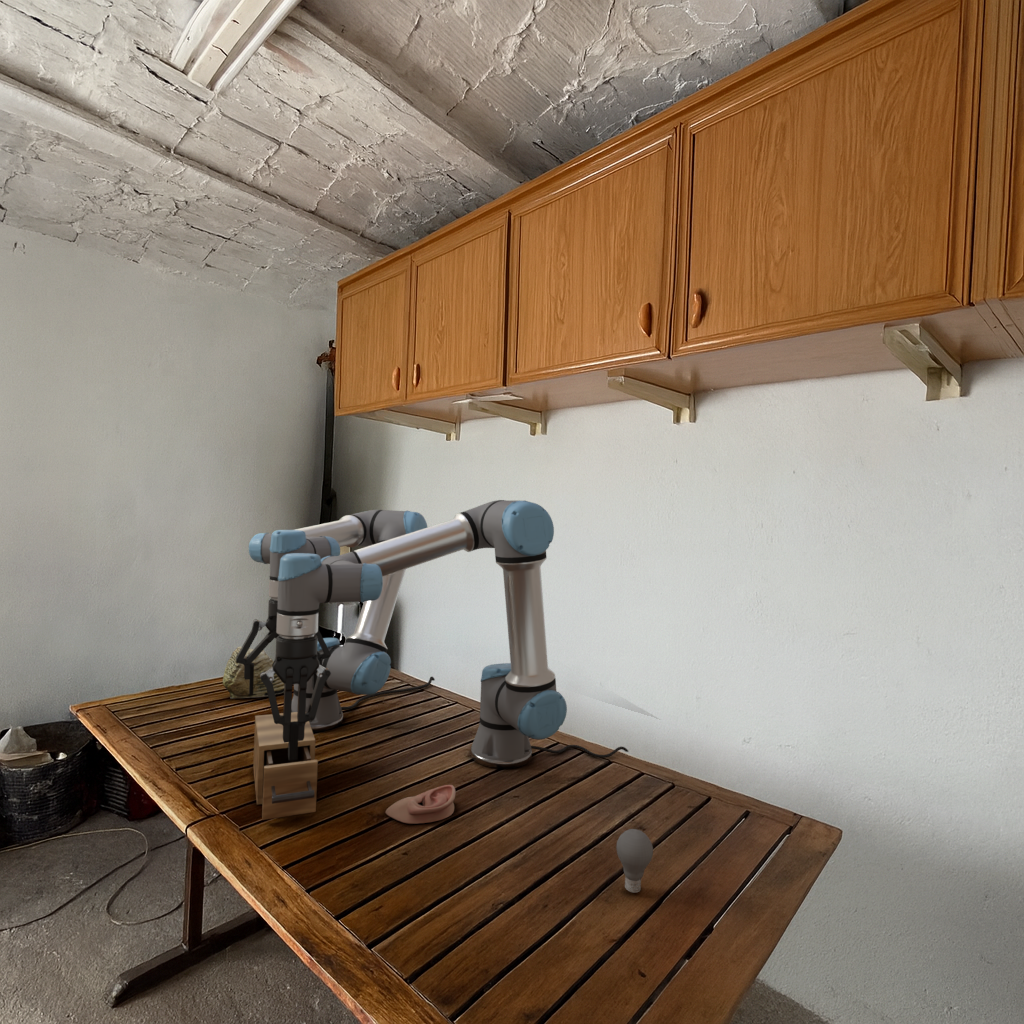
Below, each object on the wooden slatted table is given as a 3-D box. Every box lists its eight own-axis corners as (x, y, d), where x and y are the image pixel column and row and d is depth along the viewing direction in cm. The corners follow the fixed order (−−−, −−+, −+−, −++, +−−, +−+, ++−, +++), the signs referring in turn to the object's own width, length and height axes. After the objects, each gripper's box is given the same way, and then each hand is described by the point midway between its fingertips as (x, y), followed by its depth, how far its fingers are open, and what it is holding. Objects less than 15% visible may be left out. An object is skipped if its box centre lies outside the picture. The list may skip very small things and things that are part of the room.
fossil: (218, 695, 195) (220, 647, 195) (278, 685, 208) (279, 640, 207) (228, 703, 189) (230, 653, 188) (289, 692, 201) (290, 645, 201)
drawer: (319, 826, 120) (321, 773, 120) (263, 835, 116) (266, 781, 116) (305, 775, 141) (307, 730, 141) (258, 781, 137) (259, 735, 137)
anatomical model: (379, 799, 125) (401, 775, 136) (379, 819, 125) (400, 793, 136) (444, 809, 122) (460, 783, 134) (443, 829, 122) (460, 802, 134)
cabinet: (313, 796, 134) (315, 739, 134) (256, 804, 129) (258, 746, 129) (303, 761, 151) (305, 711, 151) (253, 767, 146) (255, 715, 146)
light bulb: (610, 879, 108) (613, 822, 108) (644, 879, 109) (647, 822, 109) (619, 902, 102) (622, 840, 102) (655, 901, 103) (658, 840, 103)
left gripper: (226, 602, 135) (223, 700, 136) (345, 599, 146) (341, 690, 146) (226, 596, 142) (223, 690, 143) (339, 594, 152) (336, 681, 153)
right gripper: (261, 640, 114) (256, 770, 115) (335, 637, 120) (330, 761, 120) (259, 632, 121) (255, 754, 122) (329, 629, 127) (325, 746, 127)
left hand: (283, 690), depth 144 cm, fingers open, 13 cm apart
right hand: (292, 757), depth 121 cm, fingers closed
